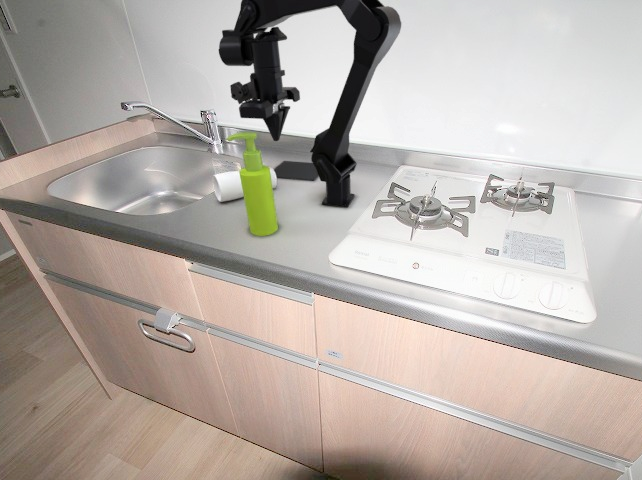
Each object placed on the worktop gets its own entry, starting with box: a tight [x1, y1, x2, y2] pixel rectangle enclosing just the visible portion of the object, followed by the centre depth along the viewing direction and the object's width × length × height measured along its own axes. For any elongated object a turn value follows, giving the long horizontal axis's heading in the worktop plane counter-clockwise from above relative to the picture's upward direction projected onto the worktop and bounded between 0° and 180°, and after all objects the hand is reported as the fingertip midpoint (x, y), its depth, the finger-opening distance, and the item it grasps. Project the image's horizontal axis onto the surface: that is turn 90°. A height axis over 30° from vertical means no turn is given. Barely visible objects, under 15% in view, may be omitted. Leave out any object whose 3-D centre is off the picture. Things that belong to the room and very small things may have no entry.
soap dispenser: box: [226, 131, 279, 237], centre depth 72 cm, size 6×7×20 cm
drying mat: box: [273, 160, 319, 182], centre depth 104 cm, size 12×14×1 cm
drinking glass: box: [211, 167, 278, 203], centre depth 91 cm, size 7×7×15 cm
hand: (276, 140), depth 86 cm, fingers closed
